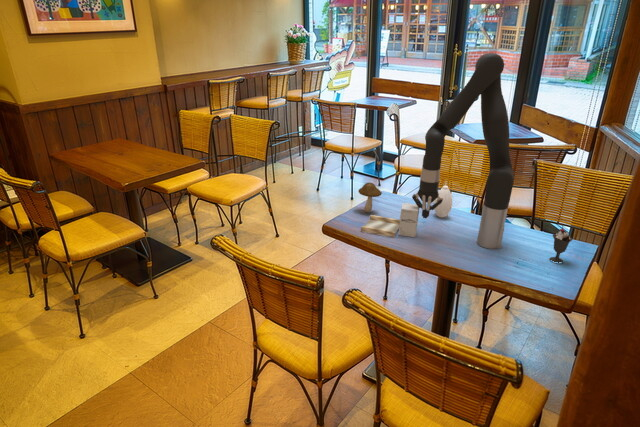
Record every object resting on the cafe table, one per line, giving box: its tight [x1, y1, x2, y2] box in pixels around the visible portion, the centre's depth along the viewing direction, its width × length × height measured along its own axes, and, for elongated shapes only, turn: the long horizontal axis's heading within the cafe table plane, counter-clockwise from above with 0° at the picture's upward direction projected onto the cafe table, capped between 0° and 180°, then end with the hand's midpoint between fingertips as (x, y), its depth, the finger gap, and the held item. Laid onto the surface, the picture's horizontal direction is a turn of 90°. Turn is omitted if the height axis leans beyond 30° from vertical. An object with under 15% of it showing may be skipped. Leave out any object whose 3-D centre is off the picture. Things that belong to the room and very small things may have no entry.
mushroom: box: [358, 182, 383, 213], centre depth 204 cm, size 9×11×15 cm
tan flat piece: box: [360, 214, 400, 238], centre depth 191 cm, size 14×14×2 cm
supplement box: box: [398, 202, 420, 238], centre depth 184 cm, size 7×7×13 cm
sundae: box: [549, 223, 574, 263], centre depth 163 cm, size 7×7×15 cm
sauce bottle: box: [433, 180, 453, 219], centre depth 199 cm, size 8×8×18 cm
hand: (425, 217), depth 181 cm, fingers closed
